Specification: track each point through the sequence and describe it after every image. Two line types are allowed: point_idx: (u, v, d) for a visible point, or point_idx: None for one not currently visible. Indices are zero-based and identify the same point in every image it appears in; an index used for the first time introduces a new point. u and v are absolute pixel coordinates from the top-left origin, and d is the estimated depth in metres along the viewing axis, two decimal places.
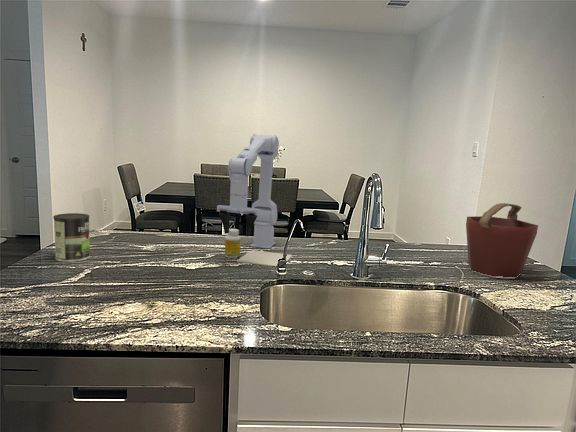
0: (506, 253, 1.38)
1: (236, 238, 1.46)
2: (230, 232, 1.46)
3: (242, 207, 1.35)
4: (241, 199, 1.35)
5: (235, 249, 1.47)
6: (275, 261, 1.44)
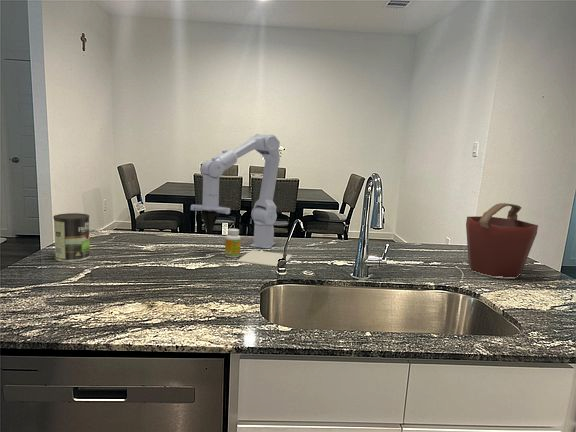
0: (506, 253, 1.38)
1: (236, 238, 1.46)
2: (230, 232, 1.46)
3: (213, 206, 1.46)
4: (213, 199, 1.46)
5: (236, 249, 1.47)
6: (275, 261, 1.44)
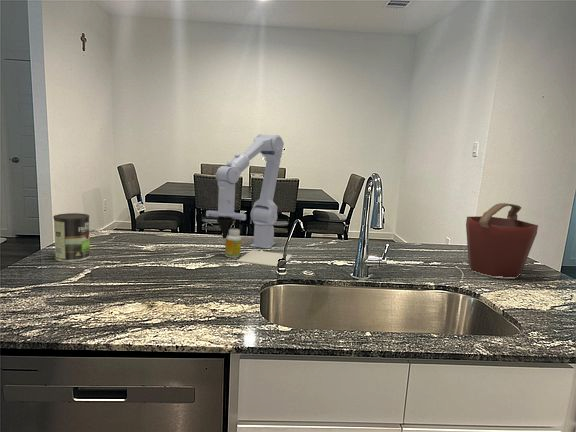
0: (506, 253, 1.38)
1: (237, 238, 1.46)
2: (231, 232, 1.46)
3: (229, 212, 1.45)
4: (229, 205, 1.44)
5: (236, 249, 1.47)
6: (275, 261, 1.44)
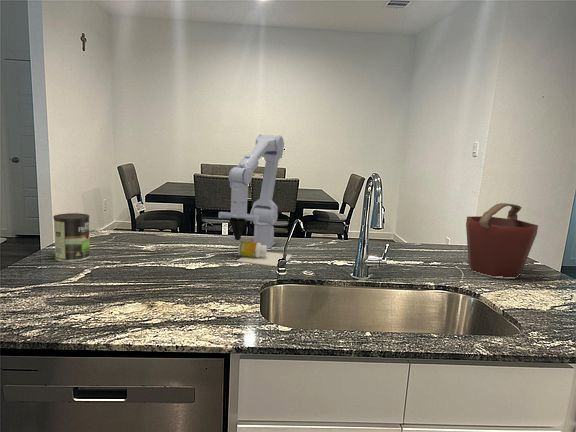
0: (506, 253, 1.38)
1: (257, 256, 1.46)
2: (263, 250, 1.46)
3: (242, 214, 1.44)
4: (242, 206, 1.43)
5: (246, 255, 1.47)
6: (275, 261, 1.44)
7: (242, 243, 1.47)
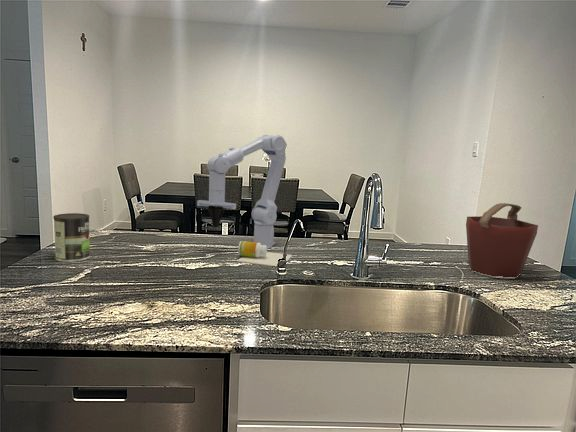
0: (506, 253, 1.38)
1: (257, 256, 1.46)
2: (263, 250, 1.46)
3: (220, 202, 1.49)
4: (219, 194, 1.48)
5: (246, 255, 1.47)
6: (275, 261, 1.44)
7: (242, 243, 1.47)
